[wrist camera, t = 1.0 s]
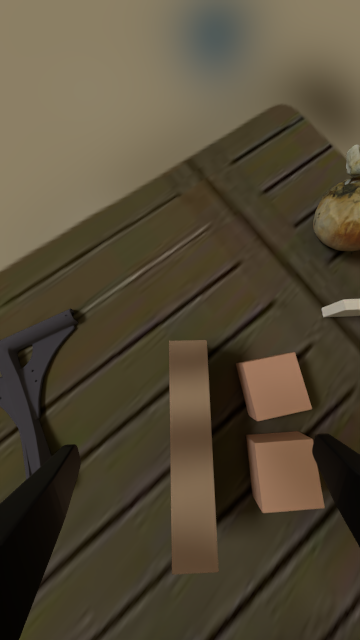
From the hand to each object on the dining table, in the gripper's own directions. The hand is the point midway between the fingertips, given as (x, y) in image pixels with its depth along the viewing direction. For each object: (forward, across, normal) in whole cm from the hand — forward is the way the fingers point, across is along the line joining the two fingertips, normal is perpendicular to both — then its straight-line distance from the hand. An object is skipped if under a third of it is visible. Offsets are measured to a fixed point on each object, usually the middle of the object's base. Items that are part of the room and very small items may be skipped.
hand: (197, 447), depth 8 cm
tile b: (+12, -8, +6) cm, 15 cm away
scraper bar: (+10, 0, +9) cm, 13 cm away
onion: (+20, -18, -8) cm, 28 cm away
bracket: (+11, +15, +7) cm, 20 cm away
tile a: (+8, -8, +12) cm, 17 cm away
